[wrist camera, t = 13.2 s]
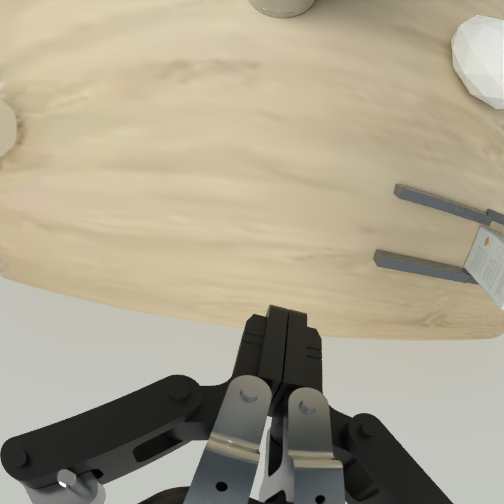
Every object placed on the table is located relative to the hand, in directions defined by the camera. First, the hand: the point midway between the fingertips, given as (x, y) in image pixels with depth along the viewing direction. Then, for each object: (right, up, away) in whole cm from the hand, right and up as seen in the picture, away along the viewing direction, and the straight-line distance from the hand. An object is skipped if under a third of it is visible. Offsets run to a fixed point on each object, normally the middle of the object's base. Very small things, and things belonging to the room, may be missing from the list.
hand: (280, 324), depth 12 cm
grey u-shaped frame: (+27, +6, +28) cm, 39 cm away
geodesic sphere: (+31, +30, +16) cm, 46 cm away
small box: (+39, +3, +28) cm, 48 cm away
